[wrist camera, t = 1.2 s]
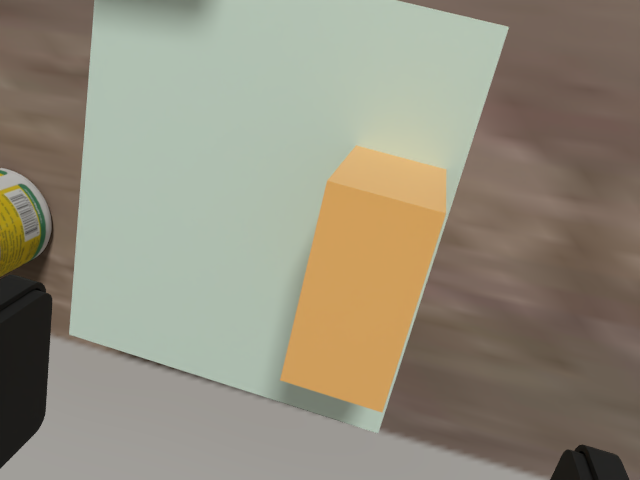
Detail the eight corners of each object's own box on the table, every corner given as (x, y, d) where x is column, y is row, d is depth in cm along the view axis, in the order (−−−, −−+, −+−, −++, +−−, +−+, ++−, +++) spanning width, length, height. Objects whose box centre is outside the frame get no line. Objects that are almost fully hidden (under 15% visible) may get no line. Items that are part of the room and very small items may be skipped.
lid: (504, 27, 19) (531, 24, 13) (382, 408, 24) (360, 535, 18) (125, -63, 20) (-15, -104, 14) (90, 316, 26) (-21, 405, 19)
